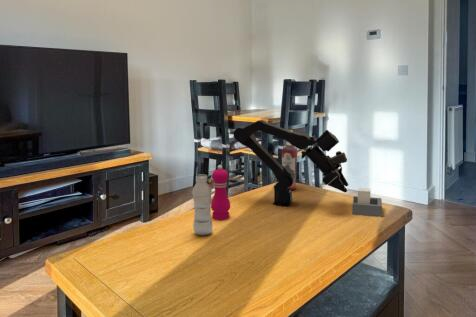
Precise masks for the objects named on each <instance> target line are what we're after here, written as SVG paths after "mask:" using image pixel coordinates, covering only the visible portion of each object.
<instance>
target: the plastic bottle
mask: <svg viewBox="0 0 476 317" xmlns="http://www.w3.org/2000/svg"><path fill="white" fill-rule="evenodd" d="M195 182H196V183H195V185H194V186H193V188H192V191H191V192H192V199H193V206H194V217H193V218H194V219H193V226H192V227H193V232H194V233H195V235H198V236H208V235H210V234H211V233H212V232H213V227H214V226H213V220H212V212H211V202H212V188H211V185H209V184H208V174H204V173H201V174H196V175H195Z"/></svg>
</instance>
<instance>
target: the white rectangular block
mask: <svg viewBox="0 0 476 317" xmlns="http://www.w3.org/2000/svg"><path fill="white" fill-rule="evenodd" d="M371 191H372V190H371V188H370V187H369V188H367V187H358V189H357V196H358V203H361V204H370V197H371Z"/></svg>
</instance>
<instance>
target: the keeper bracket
mask: <svg viewBox="0 0 476 317" xmlns="http://www.w3.org/2000/svg"><path fill="white" fill-rule="evenodd" d="M352 200H353V201H352V204H351V206H352V207H351V209H352V210H351V215H359V216H367V215H368V216H370V217H378V216H381V217H382V212H383V202H382V201H383V200H382V197H372V196H370V204H361V203H358V195H354V196H353V198H352ZM368 216H367V217H368Z"/></svg>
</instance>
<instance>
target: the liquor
mask: <svg viewBox="0 0 476 317" xmlns="http://www.w3.org/2000/svg"><path fill="white" fill-rule="evenodd" d="M288 130H289V131H293V129H288ZM293 132H294V131H293ZM298 150H299V149H298V148H296V147H295V146H293V145H291V144H290V143H289V142H288V141H286V146H285V147H283V148H281V165H282V166H284V167H285V166H286V165H288V166H289V167H290V168H291V169H292V170H293V171H294V173H295V175H297V162H298ZM296 180H297V179H296ZM296 180H295V182H294V183H293V184H292V186H290V187H289V189H291V191H294V190H295V189H296V188H297V186H296V184H297V183H296Z"/></svg>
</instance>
